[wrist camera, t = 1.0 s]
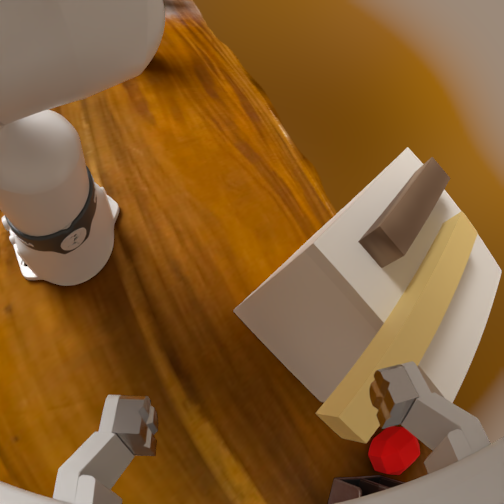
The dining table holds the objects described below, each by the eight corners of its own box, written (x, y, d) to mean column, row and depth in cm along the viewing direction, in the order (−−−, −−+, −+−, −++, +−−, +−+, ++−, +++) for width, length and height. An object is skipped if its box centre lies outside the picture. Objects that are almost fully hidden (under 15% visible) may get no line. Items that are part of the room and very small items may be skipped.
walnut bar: (358, 241, 26) (379, 226, 23) (415, 171, 32) (432, 157, 29) (381, 268, 25) (404, 255, 23) (432, 191, 32) (450, 178, 29)
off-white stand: (232, 310, 47) (313, 243, 24) (313, 235, 56) (407, 147, 33) (320, 401, 46) (450, 405, 23) (385, 316, 55) (501, 271, 32)
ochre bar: (315, 413, 19) (338, 417, 17) (443, 223, 30) (461, 210, 28) (341, 438, 19) (366, 443, 16) (458, 243, 30) (477, 232, 27)
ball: (371, 476, 43) (398, 484, 36) (356, 443, 44) (385, 449, 38) (402, 450, 46) (430, 455, 39) (389, 418, 48) (418, 420, 41)
